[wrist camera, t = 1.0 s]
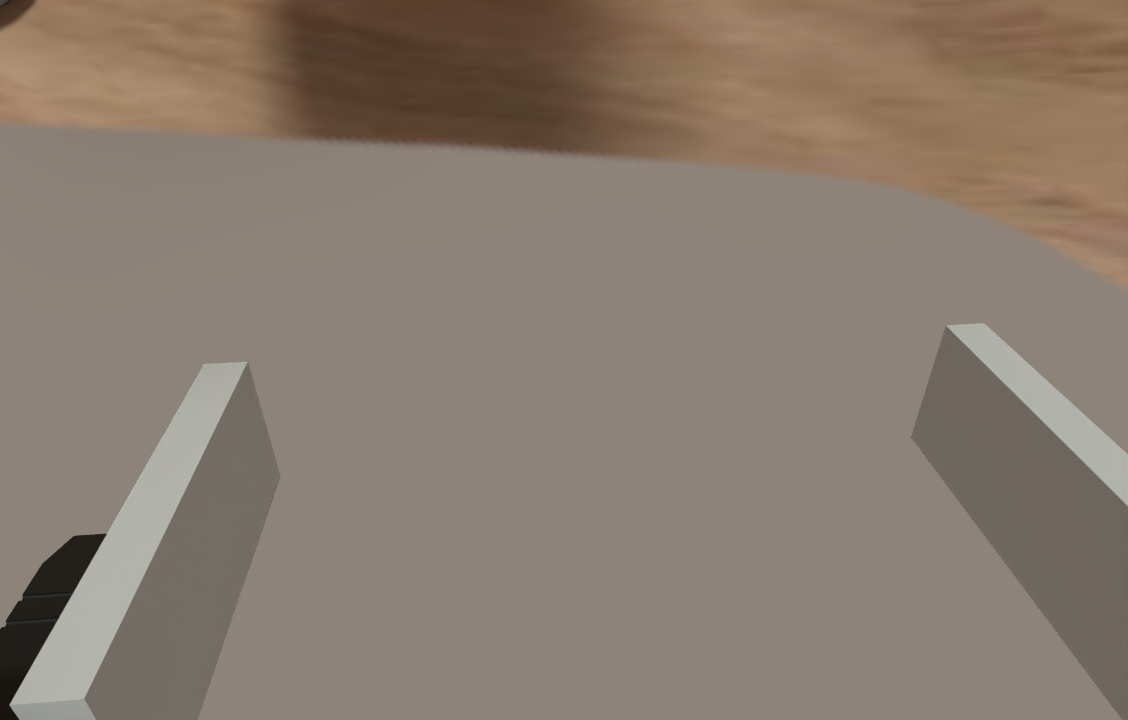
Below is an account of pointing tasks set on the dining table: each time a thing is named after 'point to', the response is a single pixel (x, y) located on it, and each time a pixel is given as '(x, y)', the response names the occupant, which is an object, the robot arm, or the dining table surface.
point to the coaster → (3, 2)
